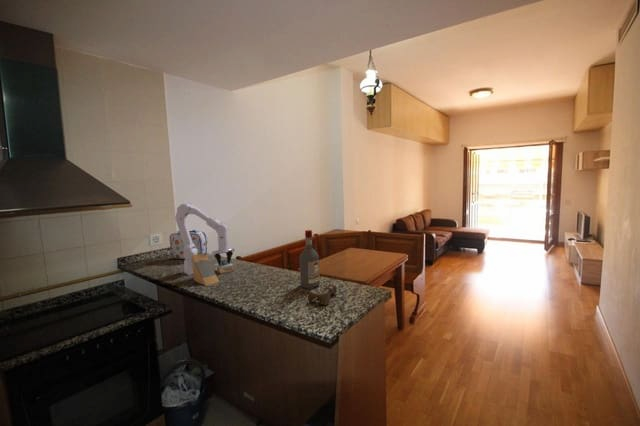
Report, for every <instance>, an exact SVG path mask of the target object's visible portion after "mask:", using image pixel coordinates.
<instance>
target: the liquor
mask: <svg viewBox="0 0 640 426" xmlns="http://www.w3.org/2000/svg"><path fill="white" fill-rule="evenodd" d="M304 237H305V247H304V250H303V251H302V252H301V253H300V254H299V274H300V276H299V277H300V278H299V279H300V280H299V281H300V286H301V287H302V288H305V287H306V289H314V287H315V288H317V287H319V286H318V285H320V284H321V282H320V281H321V280H320V255H319V253H318V252H317V251H316V250H315V249H314V247H313V230H312V229H311V230H309V229H307V230H305V231H304ZM316 286H317V287H316Z"/></svg>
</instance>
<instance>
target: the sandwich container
mask: <svg viewBox="0 0 640 426" xmlns="http://www.w3.org/2000/svg"><path fill="white" fill-rule="evenodd" d="M192 263H193V274H192V275H193V280H194V282H197V283H198V284H201V285H204V286H205V287H207V286H212V285H214V284H218V283H219V282H220V280H219V279H218V278H219V277H218V276H217V274H216V272H215V269H214V268H213V266H212V265H211V262H210V260H209V257H208V255H207V254H206V253H203V254H197V255H192Z"/></svg>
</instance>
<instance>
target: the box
mask: <svg viewBox="0 0 640 426" xmlns="http://www.w3.org/2000/svg"><path fill="white" fill-rule="evenodd" d="M214 268H215V269H214V272H215V271H216V272H218V273H219V274H220V275H221V274H222V275H224V274H228V273H232V272H235V265H234V266H233V267H228V268H224V269H221V268H219V267H217V266H215V265H214Z"/></svg>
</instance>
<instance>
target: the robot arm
mask: <svg viewBox="0 0 640 426" xmlns="http://www.w3.org/2000/svg"><path fill="white" fill-rule="evenodd" d="M189 215H195V216H197V217H199V218H200V219H202V220H203V221H205V224H206V225H207V226H209V227H210V228H212V229H213V230H214V231H216V233H217V245H218V246H217V247H218V250H213V251H211V256H214V257H215V259H216V262H217V264H218V265H221V261H222V260H221V259H222V255H221V254H226V261H227V263H231V259H232V256H233V254H234V252H235V250H236V248H234V247H231V248H229V246H228V245H229V244H228V233H227V232H228V229H229V228H228V226H227V224H225V223H223V222H220V221H219V220H218V219H217V217H215V216H214V217H213V216H208V215H207V214H206V213H204V211H203V210H201V209H199V207H197V206H195V205H194V204H193V203H191V202H185V203H181V204H180V205H178V207H177V208H176V213H175V217H174V218H175V222H176V225H177V228H178V231H179V232H180V235H181V238H182V241H183V244H184V248H183V250H184V258H185V259H184V261H183V265H184V266H183V268H184V270H183V271H182V272H183V273H184V274H186V275H188V276H190V275H194V274H193V263H192V255H197V254H198V249H197V248H196V247H195V245H194V244H193V242H192V239H191V236H190V233H189V231H190V229H189V227H188V224H187V221H186V218H187V217H188V216H189Z"/></svg>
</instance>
